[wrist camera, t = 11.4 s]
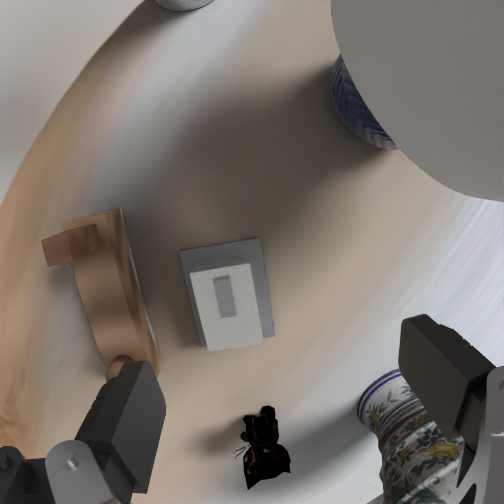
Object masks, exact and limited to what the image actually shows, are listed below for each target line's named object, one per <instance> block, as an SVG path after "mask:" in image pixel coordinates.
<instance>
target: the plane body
mask: <svg viewBox="0 0 504 504" xmlns="http://www.w3.org/2000/svg"><path fill="white" fill-rule="evenodd" d="M62 228H63V233H60V234H57V235H54V236H52V237H49V238H46V239H44V240H41V241H42V245H43V250H44V254H45V258H46V261H47V265H48V267H49V266H54V265H59V264H64V263H69V262H71V265H72V269H73V273H74V276H75V280H76V283H77V287H78V290H79V293H80V297H81V300H82V303H83V306H84V309H85V312H86V315H87V318H88V321H89V324H90V327H91V330H92V332H93V335H94V338H95V341H96V343H97V346H98V348H99V351H100V354H101V356H102V359H103V361H104V363H105V366H106V368H107V372H106V379H107V381H109V380H110V379H111V378H112V377H117V375H118V373H119V372H120V370H121V368H122V366H123V364H124V363H125V362H128V361H145V360H148V361H149V362H150V363H151V365H152V367H153V370H154V373H155V376H156V378H157V376H158V374H159V371H160V368H161V366H162V363H163V361H162V358H161V355H160V352H159V349H158V346H157V342H156V339H155V336H154V333H153V330H152V326H151V323H150V320H149V316H148V313H147V309H146V306H145V302H144V299H143V295H142V291H141V288H140V284H139V280H138V276H137V272H136V268H135V264H134V260H133V256H132V252H131V247H130V243H129V238H128V234H127V229H126V224H125V220H124V215H123V209H122V208H120V209H115V210H111V211H107V212H103V213H98V214H94V215H90V216H86V217H82V218H79V219H76V220H72V221H69V222H66V223H63V224H62Z"/></svg>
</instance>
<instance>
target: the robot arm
mask: <svg viewBox="0 0 504 504" xmlns="http://www.w3.org/2000/svg"><path fill="white" fill-rule="evenodd" d="M212 1H213V0H155V2H156V3H157V4H158V5H160V6H161V7H163V8H166V9H169V10H174V11H186V10H193V9H196V8H200V7H202V6H204V5H207V4H208V3H210V2H212ZM398 363H399V369H400V372H401V375H402V376H403V378H404V379H405V381H406V382H407V384H408V385H409V386H410V388H411V389H412V391H413V392H414V393H415V395H416V396H417V398H418V399H419V400H420V402H421V403H422V405H423V406H424V408H425V409H426V410H427V412H428V413H429V415H430V416H431V418H432V419H433V421H434V422H435V424H436V425H437V426H438V428H439V429H440V431H441V432H442V434H443V435H444V437H445V438H446V440H447V441H450V440H452V439H454V438H457V437H459V436H462V438H463V439H464V441H463V443H462V446H461V450H460V456H459V461H458V466H457V471H456V475H455V479H454V483H453V488H452V491H451V495H450V498H449V500H448V503H447V504H504V366H500V367H496V366H494V365H493V364H492V363H491V362H490V361H489V360H488V359H487V358H486V357H485V356H483V355H482V354H481V353H480V352H479V351H478V350H477V349H476V348H474V347H473V346H471V345H470V343H469V342H468V341H466V340H465V339H464V340H463V337H462V336H461V335H459V334H458V333H457V332H456V331H455V330H454V329H451V328H449V327H446V326H444V325H442V324H439V325H438V324H437V323H436V322H435V321H434V320H433V319H431V318H430V317H429V316H428V315H427V314H421V315H417V316H414V317H410V318H406V319H404V320H403V321H402V325H401V336H400V347H399V358H398ZM165 415H166V404H165V399H164V396H163V394H162V391H161V389H160V386H159V383H158V381H157V378H156V376H155V373H154V370H153V367H152V365H151V363H150V362H149V361H148V360H145V361H128V362H125V363H124V364H123V366H122V368H121V370H120V372H119V373H118V375H117V377H112V378H111V379H110V380H109V381H108V382H107V383H106V384H104V385H103V386H102V387H101V389H100V391H99V393H98V395H97V397H96V400H94V402H93V404H92V406H91V409H90V410H89V412H88V413H87V415H86V417H85V419H84V421H83V423H82V425H81V427H80V429H79V431H78V433H77V435H76V437H75V439H74V440H67V441H64V442H61V443H59V444H57V445H55V446H54V447H53V448H52V449H51V450H50V451H49V453H48V454H47V456H46V458H39V459H25V457H24V456H23V455H22V454H21V452H20V451H19V450H18V449H17V448H15V447H13V446H4V447H0V504H132V502H131V497H132V493H144V494H147V491H148V486H149V482H150V477H151V473H152V469H153V464H154V460H155V456H156V452H157V448H158V444H159V439H160V435H161V431H162V427H163V423H164V419H165Z"/></svg>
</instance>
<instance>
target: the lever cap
mask: <svg viewBox="0 0 504 504" xmlns="http://www.w3.org/2000/svg"><path fill="white" fill-rule="evenodd" d="M190 278H191V282H192V286H193V291H194V295H195V299H196V303H197V307H198V312H199V316H200V320H201V324H202V328H203V332H204V335H205V339H206V343H207V347H208V351H217V350H224V349H231V348H238V347H245V346H251V345H258V344H264V341H263V334H262V327H261V321H260V316H259V310H258V304H257V298H256V292H255V287H254V281H253V275H252V269H251V264H250V258H249V254H243V255H237V256H231V257H225V258H219V259H213V260H208V261H202V262H196V263H195V264H194V265H193V267H192V269H191V271H190Z"/></svg>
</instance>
